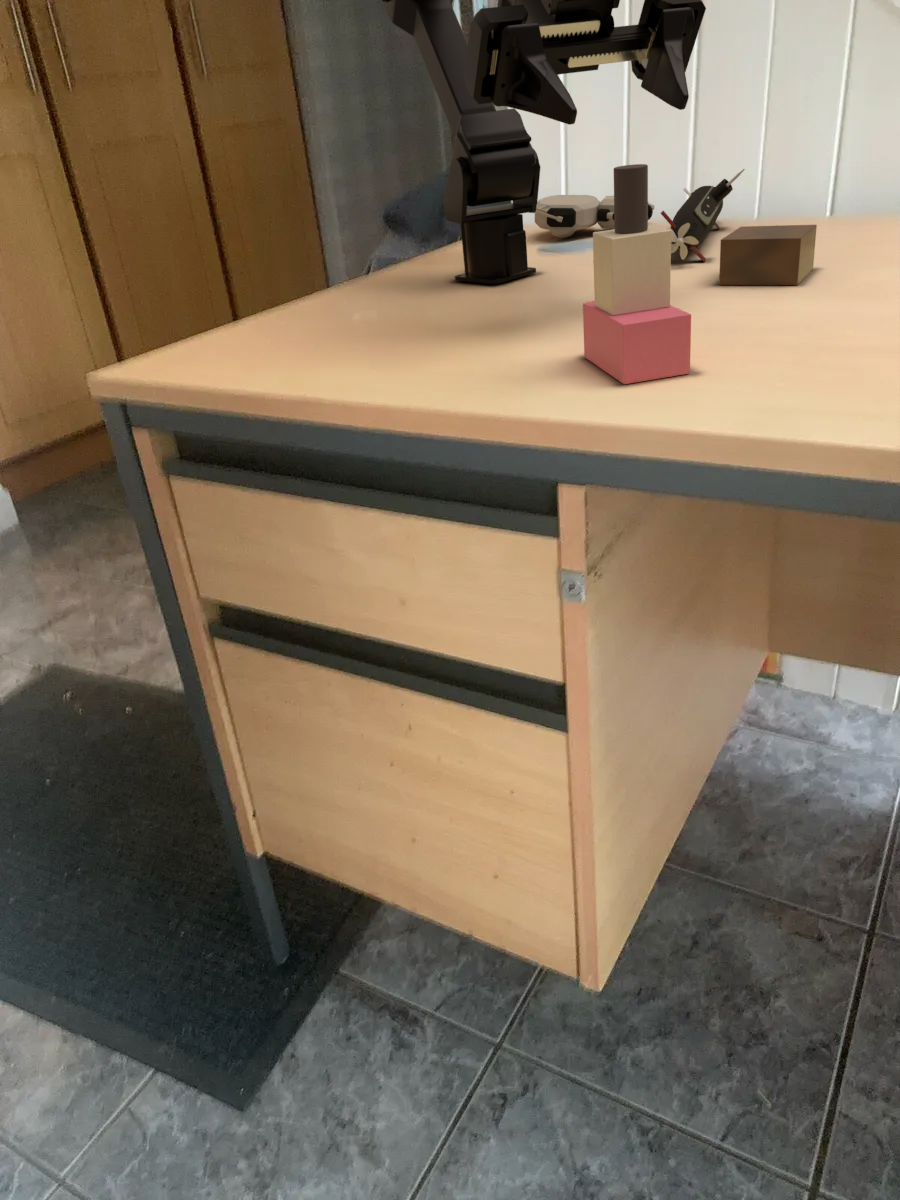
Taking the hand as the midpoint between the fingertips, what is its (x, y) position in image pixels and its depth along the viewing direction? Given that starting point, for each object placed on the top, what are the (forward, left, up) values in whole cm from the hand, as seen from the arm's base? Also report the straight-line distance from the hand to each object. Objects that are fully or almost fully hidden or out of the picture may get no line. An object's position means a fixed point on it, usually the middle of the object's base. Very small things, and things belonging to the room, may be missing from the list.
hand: (630, 110), depth 69 cm
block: (0, +20, -16) cm, 26 cm away
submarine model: (-17, +35, -16) cm, 42 cm away
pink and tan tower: (+7, -9, -16) cm, 19 cm away
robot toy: (-35, +37, -16) cm, 54 cm away
